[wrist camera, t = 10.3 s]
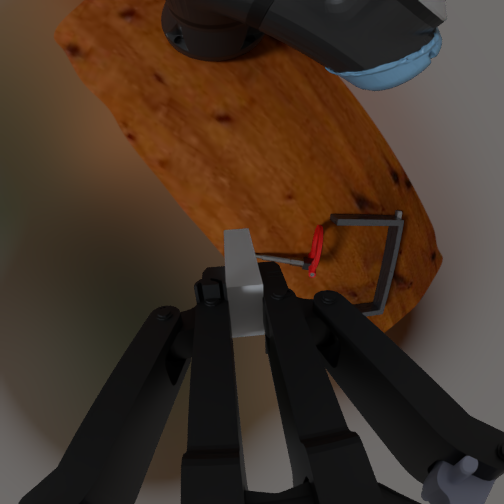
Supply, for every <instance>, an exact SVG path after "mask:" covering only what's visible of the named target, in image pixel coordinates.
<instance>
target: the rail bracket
mask: <svg viewBox="0 0 504 504" xmlns="http://www.w3.org/2000/svg"><path fill="white" fill-rule="evenodd" d="M401 217H402V211H400V210H396V211H395V215H365V214H331V215H330V220H331V221H332V222H333V223H335V224H336V225H359V226H389V228H388V234H387V240H386V245H385V251H384V256H383V261H382V266H381V270H380V275H379V279H378V284H377V288H376V292H375V296H374V300H373V302H371V303H363V304H354V305H353V306H355V307H356V308H357V309H358V310H359V311H360V312H361V313H362V314H363V315H365V316H372V315H379V314H383V311H384V307H385V304H386V300H387V297H388V293H389V289H390V285H391V281H392V277H393V273H394V269H395V264H396V260H397V255H398V251H399V246H400V241H401V235H402V230H403V224H404V220H402V219H401Z"/></svg>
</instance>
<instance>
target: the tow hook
mask: <svg viewBox="0 0 504 504" xmlns="http://www.w3.org/2000/svg"><path fill="white" fill-rule="evenodd" d="M317 240H318V241H317ZM322 244H323V227H322V225H317V227H316V229H315V233H314V237H313V242H312V248H311V252H310V253H309V254H308V258H307V257H304V258H303V259H301V258H295V257H291V258H287V257H280V256H274V255H267V254H262V255H260V254H255V256H256V258H261V259H262V260H267V261H274V262H280V263H287V264H290V265H292V266H299V267H302V269H305V270H309V277H311V278H313V277H315V276H316V268H317V266H318V263H319V260H320V256H321V251H322ZM316 245H317V249H316ZM315 253H316V254H315Z"/></svg>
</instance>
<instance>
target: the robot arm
mask: <svg viewBox="0 0 504 504" xmlns="http://www.w3.org/2000/svg"><path fill="white" fill-rule="evenodd" d="M445 1H446V0H166V2H165V5H164V8H163V11H162V16H161V23H162V28H163V31H164V34H165V36H166V38H167V39H168V41H169V43H170V44H171V45H172V46H173V47H174V48H175V49H176V50H177V51H179V52H180V53H182V54H184V55H186V56H188V57H190V58H193V59H197V60H203V61H223V60H228V59H232V58H235V57H238V56H241V55H243V54H245V53H247V52H248V51H250V50H251V49H253V48H254V47H255V46H256V45H257V44H258V43H259V42H260V41H261V40H262V38H263V37H264V35H265V34H267V35H269V36H271V37H273V38H275V39H277V40H279V41H281V42H283V43H285V44H287V45H289V46H290V47H292V48H294V49H296V50H298V51H299V52H301V53H303V54H305V55H306V56H308V57H310V58H311V59H313V60H315V61H316V62H318V63H320V64H321V65H323V66H324V67H325V69H326V70H328V71H329V72H331V73H332V74H335V75H339V76H341V77H342V78H344V79H345V80H347V81H348V82H350V83H352V84H353V85H355V86H356V87H358V88H361V89H365V90H366V89H367V90H372V91H380V90H386V89H390V88H393V87H396V86H399V85H401V84H403V83H405V82H407V81H409V80H411V79H412V78H414V77H415V76H417V75H418V74H419V73H421V72H422V71H423V70H425V69H426V68H427V67H428V66H429V65H430V64H431V60H430V59H431V58H433V57H436V56H437V55H438V53H439V51H440V49H441V45H442V37H441V35H440V33H439V30H438V28H437V27H438V26H439V25H440V24H442V23H443V22H444V21H445V20H447V14H446V5H445ZM224 248H225V266H223V267H222V266H221V267H209V268H206V270H205V271H204V272H203V275H202V279H200V280H199V281H197V282H196V283H195V285H194V290H195V295H196V301H197V305H196V306H195V307H194V308H192V309H190V310H187V311H183V312H180V311H179V309H178V308H176V307H174V306H162V307H159V308H157V309H155V310H153V311H152V313H151V314H150V315H149V316H148V318H147V319H146V321H145V322H144V324H143V325H142V327H141V329H140V330H139V332H138V333H137V335H136V336H135V338H134V339H133V341H132V342H131V344H130V345H129V347H128V348H127V350H126V351H125V353H124V355H123V356H122V358H121V359H120V361H119V362H118V364H117V366H116V367H115V369H114V370H113V372H112V373H111V375H110V377H109V378H108V380H107V382H106V383H105V385H104V386H103V388H102V390H101V391H100V393H99V395H98V396H97V398H96V400H95V401H94V403H93V405H92V406H91V408H90V410H89V411H88V413H87V415H86V417H85V418H84V420H83V422H82V423H81V425H80V427H79V429H78V430H77V432H76V434H75V436H74V437H73V439H72V441H71V443H70V445H69V446H68V448H67V450H66V452H65V454H64V456H63V458H62V460H61V461H60V463H59V465H58V467H57V468H56V469H55V470H54V471H52V472H51V473H50V474H49V475H48V476H47V477H46V478H44V479H43V480H42V481H41V482H40V483H39V484H38V485H37V486H35V487H34V488H33V489H32V490H31V491H29V492H28V493H27V494H26V495H25V496H24V497H23V498H22V499H21V500H20V502H19V504H134V503H135V501H136V499H137V496H138V493H139V491H140V488H141V485H142V483H143V480H144V477H145V475H146V472H147V470H148V467H149V465H150V462H151V460H152V457H153V454H154V452H155V449H156V447H157V444H158V442H159V439H160V436H161V434H162V432H163V429H164V426H165V424H166V421H167V419H168V416H169V414H170V411H171V409H172V406H173V404H174V401H175V399H176V396H177V394H178V391H179V389H180V386H181V384H182V381H183V379H184V377H185V374H186V372H187V369H188V367H189V364H190V362H191V357H192V364H191V379H190V395H189V414H188V442H187V452H186V453H185V454H183V457H182V465H181V504H421V503H419V502H416V501H414V500H412V499H410V498H408V497H406V496H404V495H402V494H400V493H398V492H396V491H394V490H392V489H390V488H388V487H387V486H385V485H383V484H381V483H378V482H377V481H376V478H375V475H374V472H373V470H372V467H371V465H370V462H369V459H368V456H367V454H366V451H365V449H364V447H363V443H362V441H361V439H360V437H359V435H358V434H357V433H356V432H352V431H350V430H349V429H348V427H347V424H346V422H345V419H344V416H343V414H342V411H341V409H340V406H339V403H338V400H337V398H336V395H335V393H334V390H333V387H332V385H331V382H330V380H329V377H328V374H327V372H326V370H325V368H326V369H327V371H328V372H329V373H330V375H331V376H332V377H333V379H334V380H335V381H336V382H337V384H338V385H339V386H340V388H341V389H342V390H343V391H344V393H345V394H346V395H347V397H348V398H349V399H350V400H351V402H352V403H353V404H354V406H355V407H356V408H357V409H358V411H359V412H360V413H361V414H362V416H363V417H364V418H365V420H366V421H367V422H368V424H369V425H370V426H371V427H372V429H373V430H374V431H375V432H376V433H377V435H378V436H379V437H380V439H381V440H382V441H383V442H384V444H385V445H386V446H387V448H388V449H389V450H390V451H391V453H392V454H393V455H394V456H395V458H396V459H397V460H398V461H399V463H400V464H401V465H402V466H403V467H404V468H405V470H407V472H408V473H409V474H411V475H412V476H413V477H414V478H415V479H416V480H418V481H419V482H421V483H422V484H423V488H422V489H423V491H422V493H421V497H422V498H423V500H425V501H429V503H430V504H484V503H485V501H486V499H487V497H488V495H489V493H490V491H491V488H492V486H493V484H494V482H495V480H496V479H497V478H498V477H499V476H501V475H502V474H503V473H504V432H502V431H500V430H498V429H496V428H494V427H492V426H490V425H488V424H486V423H484V422H482V421H479V420H477V419H475V418H473V417H471V416H470V415H469V414H468V413H467V412H466V411H465V410H464V409H463V408H462V407H461V406H460V405H459V404H458V403H457V402H456V401H454V399H453V398H451V397H450V395H448V394H447V393H446V392H445V391H444V390H443V389H442V388H441V387H440V386H439V385H438V384H437V383H436V382H435V381H434V380H433V379H432V378H431V377H430V376H429V375H428V374H427V373H426V372H425V371H424V370H422V368H421V367H419V366H418V365H417V364H416V363H415V362H414V361H413V360H412V359H411V358H410V357H409V356H408V355H407V354H406V353H405V352H403V350H401V349H400V348H399V347H398V346H397V345H396V344H395V343H394V342H393V341H392V340H391V339H390V338H388V337H387V336H386V335H385V334H384V333H383V332H382V331H381V330H380V329H379V328H378V327H377V326H375V325H374V324H373V323H372V322H371V321H370V320H369V319H368V318H367V317H366V316H365V315H363V314H362V313H361V312H360V311H359V310H358V309H357V308H356V307H355V306H353V305H352V304H351V303H350V302H349V301H348V300H347V299H346V298H345V297H343V296H342V295H341V294H339V293H338V292H335V291H330V290H325V291H320V292H318V293H316V294H315V295H314V300H313V299H303V298H299V297H296V295H295V293H294V292H293V291H292V290H291V289H289V288H288V286H287V284H286V281H285V279H284V276H283V274H282V272H281V269H280V266H279V265H278V264H277V263H275V262H274V261H271V262H260V263H257V259H256V256H255V252H254V248H253V244H252V240H251V237H250V233H249V229H248V228H247V229H234V230H224ZM264 330H265V347H266V354H268V357H269V362H270V367H271V372H272V377H273V382H274V386H275V391H276V396H277V401H278V406H279V410H280V415H281V420H282V425H283V429H284V434H285V439H286V444H287V449H288V454H289V458H290V463H291V467H292V474H293V488H291V489H288V490H286V491H283V492H280V493H265V492H255V491H248V487H247V480H246V473H245V464H244V455H243V446H242V436H241V426H240V417H239V406H238V396H237V385H236V373H235V362H234V351H233V340H232V338H233V337H243V336H254V335H264Z"/></svg>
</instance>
